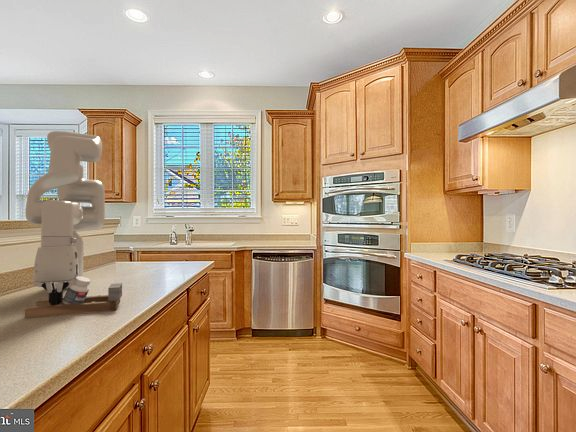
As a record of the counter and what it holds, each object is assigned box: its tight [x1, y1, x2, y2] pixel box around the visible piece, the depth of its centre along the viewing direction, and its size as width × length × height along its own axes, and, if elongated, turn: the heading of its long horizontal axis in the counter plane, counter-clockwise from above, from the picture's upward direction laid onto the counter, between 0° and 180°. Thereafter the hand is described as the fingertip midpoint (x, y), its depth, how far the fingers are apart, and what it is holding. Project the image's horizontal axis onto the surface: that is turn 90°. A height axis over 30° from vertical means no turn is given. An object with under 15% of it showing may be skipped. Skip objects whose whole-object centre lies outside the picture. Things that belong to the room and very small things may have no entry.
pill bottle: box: [61, 276, 92, 305], centre depth 93 cm, size 5×5×9 cm
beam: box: [24, 282, 123, 319], centre depth 94 cm, size 10×23×6 cm, turn 111°
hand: (55, 305), depth 91 cm, fingers closed
